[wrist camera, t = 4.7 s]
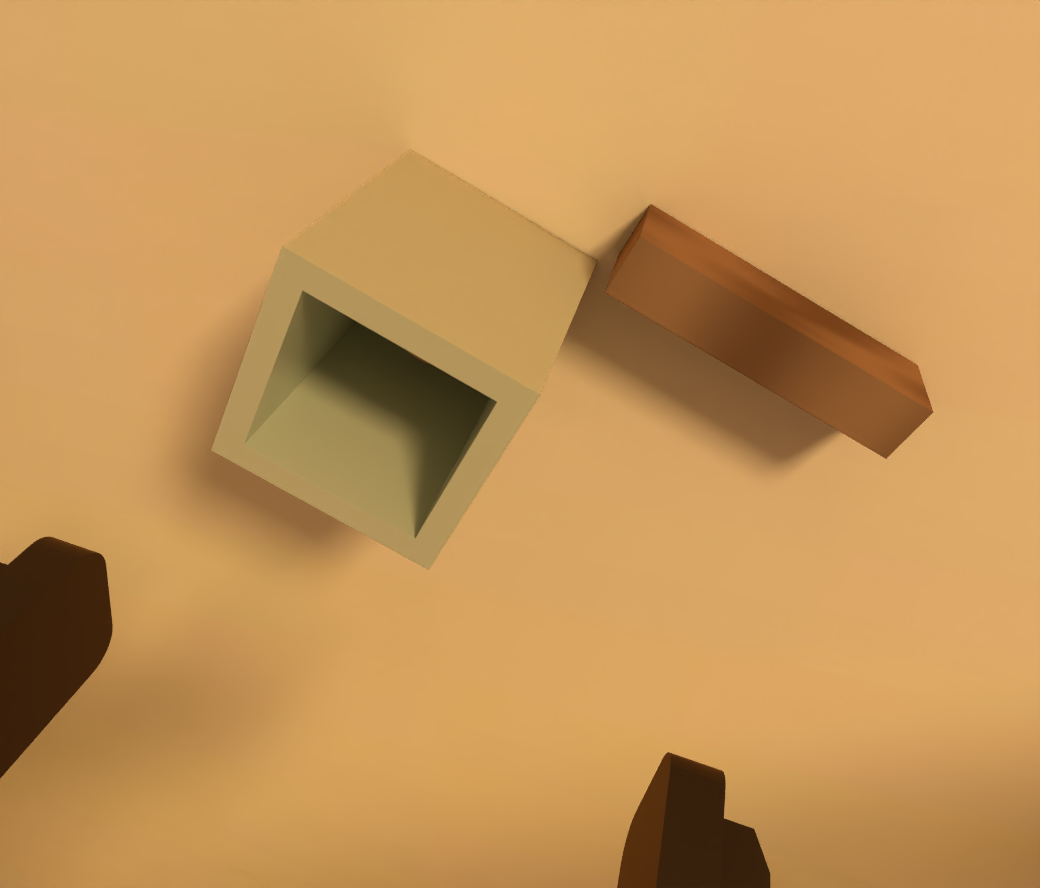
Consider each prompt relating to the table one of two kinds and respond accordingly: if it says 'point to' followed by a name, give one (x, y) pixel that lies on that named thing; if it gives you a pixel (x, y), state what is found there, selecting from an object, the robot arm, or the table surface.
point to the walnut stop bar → (769, 333)
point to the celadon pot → (401, 354)
